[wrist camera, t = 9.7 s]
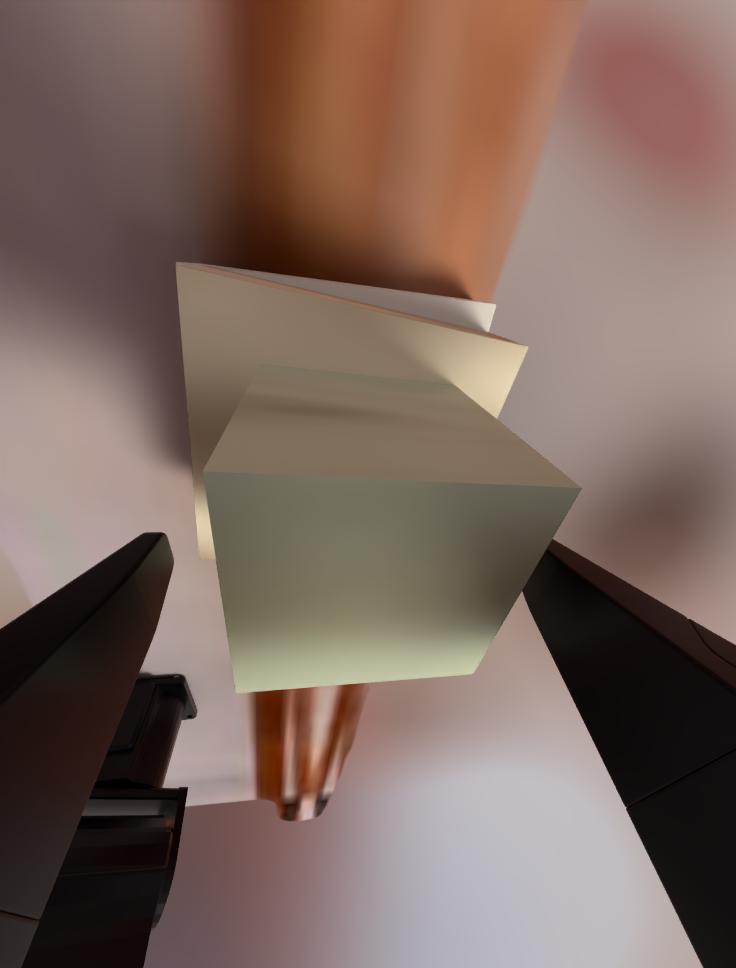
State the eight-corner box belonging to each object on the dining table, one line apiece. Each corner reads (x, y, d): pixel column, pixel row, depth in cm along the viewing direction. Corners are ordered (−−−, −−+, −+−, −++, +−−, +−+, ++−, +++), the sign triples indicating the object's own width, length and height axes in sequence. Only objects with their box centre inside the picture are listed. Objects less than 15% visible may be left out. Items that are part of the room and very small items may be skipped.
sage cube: (414, 527, 14) (473, 673, 9) (266, 525, 13) (235, 692, 8) (454, 384, 11) (581, 488, 6) (260, 364, 9) (202, 471, 4)
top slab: (414, 527, 18) (430, 569, 15) (217, 512, 15) (199, 559, 13) (486, 331, 13) (528, 347, 10) (208, 266, 10) (175, 265, 8)
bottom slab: (417, 497, 21) (431, 529, 18) (232, 494, 19) (220, 529, 16) (465, 298, 15) (496, 304, 12) (202, 263, 13) (175, 262, 10)
